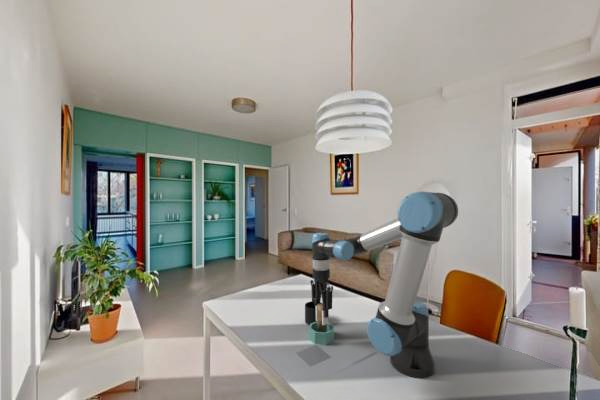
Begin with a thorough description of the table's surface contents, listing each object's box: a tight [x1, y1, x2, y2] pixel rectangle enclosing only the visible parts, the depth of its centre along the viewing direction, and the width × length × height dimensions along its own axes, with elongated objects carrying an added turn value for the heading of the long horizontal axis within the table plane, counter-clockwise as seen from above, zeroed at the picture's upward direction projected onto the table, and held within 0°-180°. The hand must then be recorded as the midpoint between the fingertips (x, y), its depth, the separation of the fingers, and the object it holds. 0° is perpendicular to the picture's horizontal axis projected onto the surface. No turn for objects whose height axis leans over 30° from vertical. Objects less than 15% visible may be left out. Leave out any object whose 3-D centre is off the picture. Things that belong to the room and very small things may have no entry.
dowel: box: [317, 302, 327, 333], centre depth 111 cm, size 4×4×12 cm
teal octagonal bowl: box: [308, 321, 335, 346], centre depth 111 cm, size 11×11×6 cm
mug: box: [304, 301, 317, 326], centre depth 126 cm, size 9×12×9 cm
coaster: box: [295, 344, 332, 367], centre depth 99 cm, size 10×10×1 cm
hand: (321, 322), depth 111 cm, fingers closed on dowel, 4 cm apart
